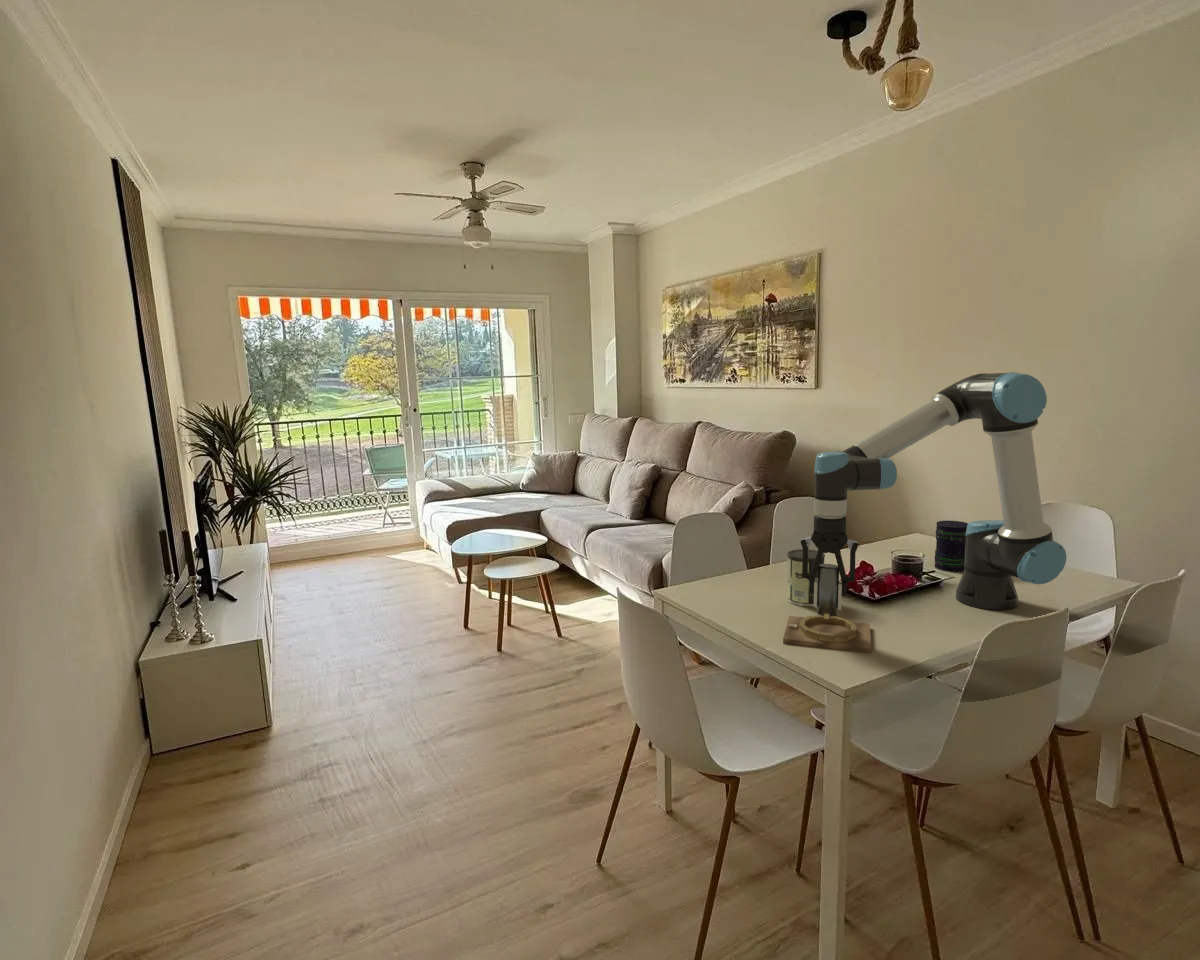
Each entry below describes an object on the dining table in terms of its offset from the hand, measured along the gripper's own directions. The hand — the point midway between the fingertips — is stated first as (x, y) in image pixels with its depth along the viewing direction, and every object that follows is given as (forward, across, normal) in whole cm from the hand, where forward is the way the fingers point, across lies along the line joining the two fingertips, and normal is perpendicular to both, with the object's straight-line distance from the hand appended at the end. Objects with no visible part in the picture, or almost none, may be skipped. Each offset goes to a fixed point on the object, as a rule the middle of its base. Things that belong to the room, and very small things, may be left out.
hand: (827, 606), depth 163 cm
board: (+8, 0, 0) cm, 8 cm away
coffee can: (+8, +7, -25) cm, 27 cm away
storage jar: (+8, -36, -70) cm, 79 cm away
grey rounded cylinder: (+2, 0, 0) cm, 2 cm away
